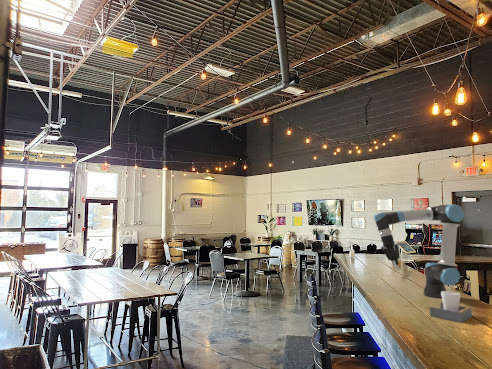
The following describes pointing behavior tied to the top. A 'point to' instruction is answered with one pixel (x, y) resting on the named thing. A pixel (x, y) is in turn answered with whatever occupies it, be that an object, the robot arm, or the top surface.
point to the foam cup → (451, 300)
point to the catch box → (452, 313)
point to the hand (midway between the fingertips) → (397, 269)
